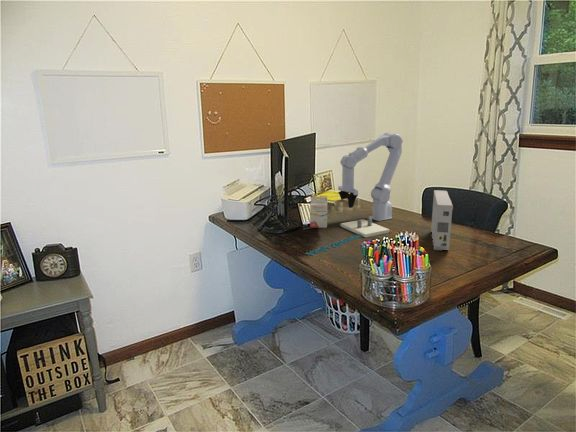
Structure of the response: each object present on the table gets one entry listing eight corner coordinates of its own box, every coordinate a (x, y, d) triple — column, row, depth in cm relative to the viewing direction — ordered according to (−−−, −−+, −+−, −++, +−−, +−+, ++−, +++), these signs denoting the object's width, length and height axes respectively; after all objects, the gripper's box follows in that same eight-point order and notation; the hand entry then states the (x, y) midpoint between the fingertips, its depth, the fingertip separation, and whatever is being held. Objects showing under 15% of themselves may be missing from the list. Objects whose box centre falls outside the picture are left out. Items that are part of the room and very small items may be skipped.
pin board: (363, 222, 214) (363, 212, 213) (389, 232, 197) (390, 222, 195) (340, 226, 208) (340, 216, 206) (365, 237, 191) (365, 227, 189)
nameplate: (302, 254, 173) (311, 257, 170) (302, 252, 173) (311, 255, 169) (359, 234, 196) (368, 236, 193) (359, 232, 196) (368, 235, 193)
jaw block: (334, 210, 212) (334, 200, 211) (354, 206, 217) (354, 197, 216) (340, 212, 208) (340, 202, 207) (360, 208, 213) (360, 199, 212)
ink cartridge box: (310, 227, 207) (309, 198, 203) (310, 224, 212) (310, 196, 208) (327, 227, 206) (327, 198, 202) (327, 224, 211) (327, 196, 207)
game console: (444, 232, 195) (447, 190, 189) (449, 253, 170) (453, 205, 164) (431, 231, 196) (434, 190, 191) (434, 252, 171) (437, 204, 166)
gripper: (333, 178, 213) (333, 204, 217) (349, 183, 201) (349, 210, 204) (345, 176, 216) (344, 202, 220) (361, 181, 204) (361, 208, 207)
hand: (347, 206), depth 212 cm, fingers closed on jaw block, 5 cm apart
